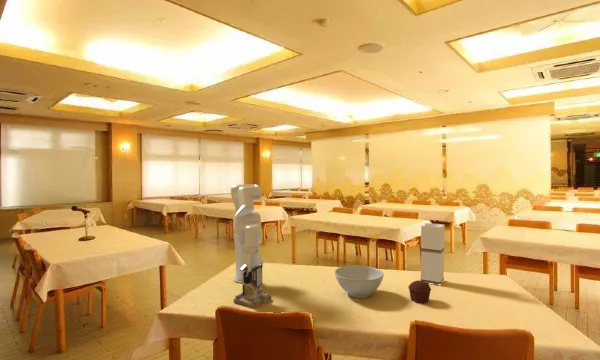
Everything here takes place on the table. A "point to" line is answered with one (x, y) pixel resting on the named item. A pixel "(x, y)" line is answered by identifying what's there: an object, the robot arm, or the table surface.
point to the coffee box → (253, 284)
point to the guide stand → (252, 300)
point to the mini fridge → (432, 253)
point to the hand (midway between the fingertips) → (252, 280)
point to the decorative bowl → (359, 280)
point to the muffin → (419, 291)
